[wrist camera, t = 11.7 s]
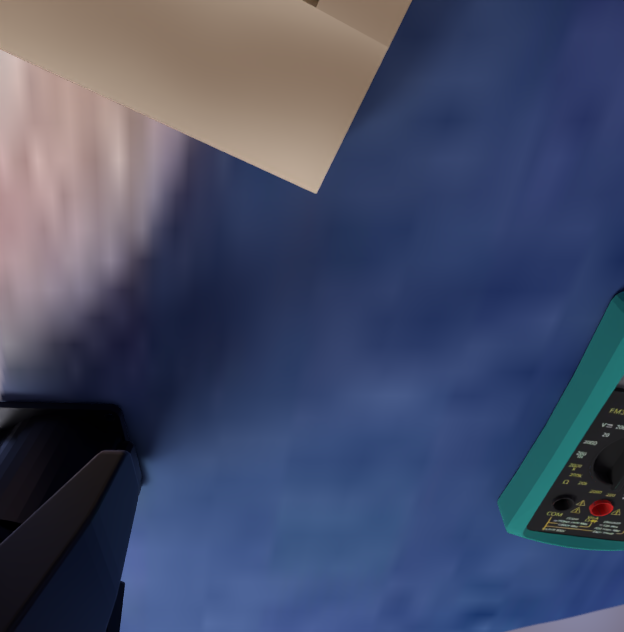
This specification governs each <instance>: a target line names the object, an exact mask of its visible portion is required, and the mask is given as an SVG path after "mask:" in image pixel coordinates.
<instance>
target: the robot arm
mask: <svg viewBox="0 0 624 632" xmlns="http://www.w3.org/2000/svg"><path fill="white" fill-rule="evenodd" d="M109 414H111V415H109ZM112 415H113V416H112ZM141 478H142V474H141V470H140V466H139V462H138V458H137V454H136V450H135V446H134V444H133V443H132V442H131V441H130V440H129V436H128V432H127V428H126V424H125V420H124V416H123V412H122V410H121V409H120V408H119V407H118V406H116V405H113V404H85V403H37V402H0V632H119V631H120V622H121V613H122V605H123V596H124V588H125V583H124V582H123V581H121V576H122V571H123V566H124V562H125V557H126V552H127V548H128V543H129V538H130V534H131V529H132V525H133V520H134V515H135V511H136V506H137V501H138V496H139V493H140V491H141V484H140V481H141Z"/></svg>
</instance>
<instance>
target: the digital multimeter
mask: <svg viewBox="0 0 624 632" xmlns="http://www.w3.org/2000/svg"><path fill="white" fill-rule="evenodd" d="M611 393H612V394H611ZM602 407H603V408H602ZM600 410H601V411H600ZM598 413H599V414H598ZM596 416H597V417H596ZM594 419H595V420H594ZM593 421H594V422H593ZM591 424H592V425H591ZM589 427H590V428H589ZM587 430H588V431H587ZM585 433H586V434H585ZM584 435H585V436H584ZM583 436H584V437H583ZM582 438H583V439H582ZM580 441H581V442H580ZM578 444H579V445H578ZM576 447H577V448H576ZM575 449H576V450H575ZM574 450H575V451H574ZM573 452H574V453H573ZM572 453H573V454H572ZM571 455H572V456H571ZM569 458H570V459H569ZM567 461H568V462H567ZM566 463H567V464H566ZM565 464H566V465H565ZM564 466H565V467H564ZM562 469H563V470H562ZM560 472H561V473H560ZM546 494H547V495H546ZM544 497H545V498H544ZM498 506H499V509H500V513H501V516H502V519H503V522H504V525H505V528H506V531H507V532H508V533H511V534H514V535H517V536H520V537H523V538H526V539H530V540H534V541H538V542H542V543H547V544H552V545H557V546H562V547H567V548H576V549H584V550H605V551H618V550H624V291H623V292H621V293H619V294H617V295H616V296H615V297H614V298H613V299H612V300H611V302H610V304H609V306H608V308H607V310H606V312H605V314H604V316H603V318H602V320H601V322H600V324H599V326H598V328H597V330H596V332H595V334H594V336H593V338H592V340H591V342H590V344H589V346H588V348H587V350H586V352H585V354H584V356H583V358H582V360H581V362H580V364H579V365H578V367H577V369H576V371H575V373H574V375H573V377H572V379H571V380H570V382H569V384H568V386H567V387H566V389H565V391H564V393H563V394H562V396H561V398H560V400H559V402H558V403H557V405H556V407H555V409H554V411H553V413H552V414H551V416H550V418H549V420H548V422H547V423H546V425H545V427H544V428H543V430H542V431H541V433H540V435H539V436H538V438H537V439H536V441H535V443H534V444H533V446H532V448H531V449H530V451H529V452H528V454H527V456H526V457H525V459H524V461H523V463H522V464H521V466H520V468H519V469H518V471H517V472H516V474H515V475H514V477H513V478H512V480H511V481H510V483H509V484H508V485H507V487H506V488H505V490H504V491H503V493H502V495H501V496H500V498H499V499H498Z"/></svg>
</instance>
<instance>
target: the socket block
mask: <svg viewBox="0 0 624 632" xmlns="http://www.w3.org/2000/svg"><path fill="white" fill-rule="evenodd" d="M411 1H412V0H0V50H3V51H5V52H7V53H9V54H11V55H14V56H16V57H18V58H20V59H22V60H24V61H27V62H29V63H31V64H33V65H35V66H38V67H40V68H42V69H44V70H46V71H48V72H51V73H53V74H55V75H57V76H59V77H62V78H64V79H66V80H68V81H70V82H72V83H75V84H77V85H79V86H81V87H83V88H86V89H88V90H90V91H92V92H94V93H97V94H99V95H101V96H103V97H105V98H107V99H110V100H112V101H114V102H116V103H118V104H121V105H123V106H125V107H127V108H129V109H131V110H134V111H136V112H138V113H140V114H142V115H145V116H147V117H149V118H151V119H153V120H156V121H158V122H160V123H162V124H164V125H166V126H169V127H171V128H173V129H175V130H177V131H180V132H182V133H184V134H186V135H188V136H190V137H193V138H195V139H197V140H199V141H201V142H204V143H206V144H208V145H210V146H212V147H214V148H217V149H219V150H221V151H223V152H225V153H228V154H230V155H232V156H234V157H236V158H239V159H241V160H243V161H245V162H247V163H249V164H252V165H254V166H256V167H258V168H260V169H263V170H265V171H267V172H269V173H271V174H273V175H276V176H278V177H280V178H282V179H284V180H287V181H289V182H291V183H293V184H295V185H298V186H300V187H302V188H304V189H306V190H308V191H311V192H313V193H315V194H317V192H318V190H319V188H320V186H321V184H322V182H323V180H324V177H325V175H326V173H327V171H328V169H329V167H330V165H331V163H332V161H333V159H334V157H335V155H336V153H337V151H338V149H339V147H340V145H341V143H342V141H343V139H344V137H345V135H346V133H347V131H348V129H349V127H350V125H351V123H352V121H353V119H354V117H355V115H356V113H357V111H358V109H359V107H360V105H361V103H362V101H363V99H364V97H365V95H366V92H367V90H368V88H369V86H370V84H371V82H372V80H373V78H374V76H375V74H376V72H377V70H378V68H379V66H380V64H381V62H382V60H383V58H384V56H385V54H386V52H387V50H388V48H389V46H390V44H391V42H392V40H393V38H394V36H395V34H396V32H397V30H398V28H399V26H400V24H401V22H402V20H403V18H404V16H405V14H406V12H407V10H408V7H409V5H410V3H411Z"/></svg>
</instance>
